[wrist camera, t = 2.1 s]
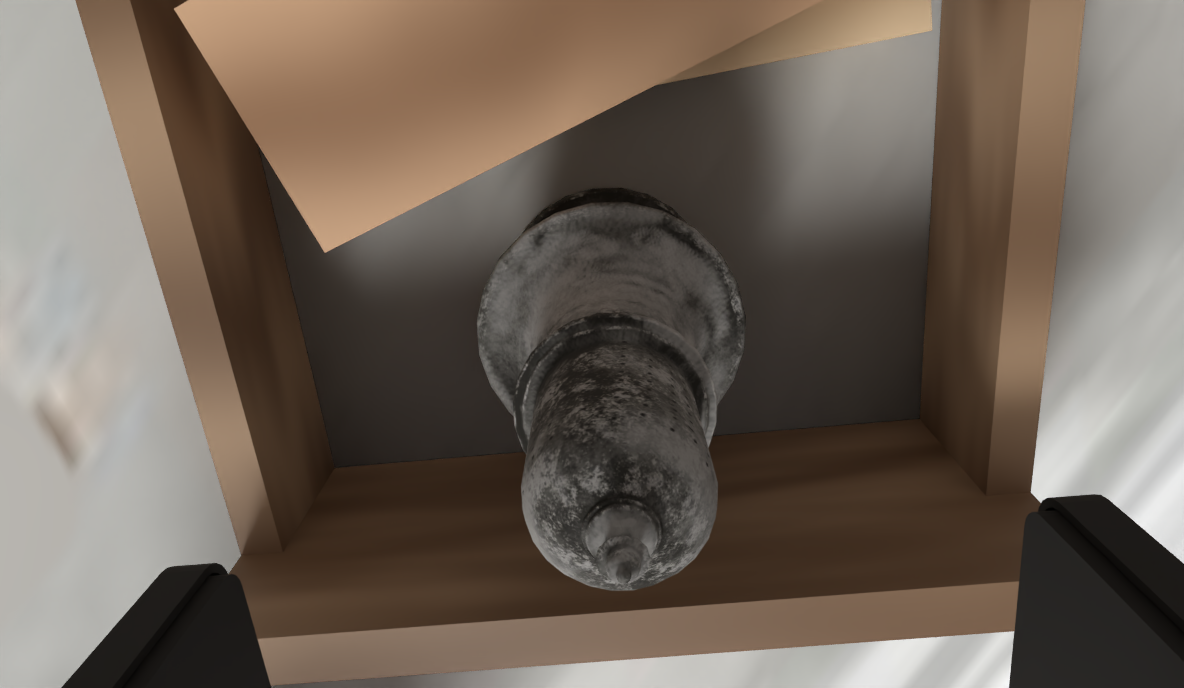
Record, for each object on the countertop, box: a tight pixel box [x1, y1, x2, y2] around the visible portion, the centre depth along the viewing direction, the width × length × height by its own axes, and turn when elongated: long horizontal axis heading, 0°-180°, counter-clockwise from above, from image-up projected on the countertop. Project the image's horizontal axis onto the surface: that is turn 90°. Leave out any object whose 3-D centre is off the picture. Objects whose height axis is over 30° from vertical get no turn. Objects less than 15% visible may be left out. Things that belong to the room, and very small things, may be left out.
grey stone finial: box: [477, 188, 746, 591], centre depth 15 cm, size 6×6×12 cm
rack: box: [76, 0, 1086, 686], centre depth 17 cm, size 16×18×7 cm
